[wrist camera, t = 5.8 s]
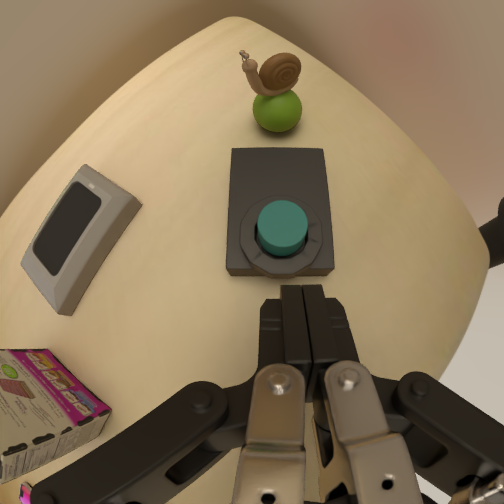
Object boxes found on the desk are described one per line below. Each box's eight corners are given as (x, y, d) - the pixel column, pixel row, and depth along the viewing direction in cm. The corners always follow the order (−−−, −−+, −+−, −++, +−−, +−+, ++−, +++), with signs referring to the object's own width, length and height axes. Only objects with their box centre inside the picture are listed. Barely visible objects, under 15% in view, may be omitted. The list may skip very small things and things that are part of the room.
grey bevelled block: (14, 262, 24) (80, 157, 27) (32, 269, 28) (94, 172, 31) (50, 312, 22) (128, 189, 25) (71, 315, 26) (142, 204, 29)
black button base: (327, 283, 26) (340, 273, 21) (230, 284, 26) (221, 273, 21) (318, 165, 29) (326, 137, 24) (235, 165, 29) (229, 136, 25)
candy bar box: (37, 377, 24) (-67, 382, 8) (48, 347, 25) (-64, 340, 9) (100, 439, 22) (-3, 488, 6) (114, 410, 23) (-1, 453, 7)
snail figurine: (238, 122, 31) (226, 41, 20) (283, 103, 32) (286, 24, 20) (262, 152, 30) (258, 67, 18) (309, 130, 30) (322, 49, 19)
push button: (304, 256, 22) (309, 247, 19) (258, 256, 22) (257, 247, 19) (302, 213, 23) (306, 199, 20) (258, 213, 23) (257, 199, 20)
